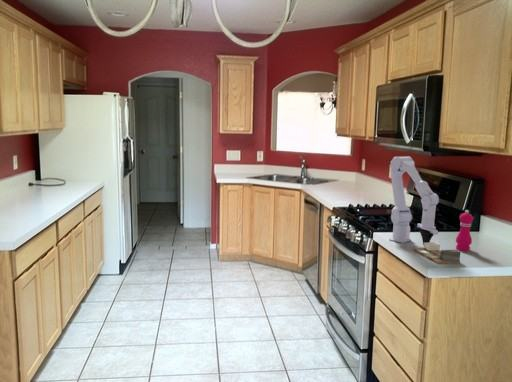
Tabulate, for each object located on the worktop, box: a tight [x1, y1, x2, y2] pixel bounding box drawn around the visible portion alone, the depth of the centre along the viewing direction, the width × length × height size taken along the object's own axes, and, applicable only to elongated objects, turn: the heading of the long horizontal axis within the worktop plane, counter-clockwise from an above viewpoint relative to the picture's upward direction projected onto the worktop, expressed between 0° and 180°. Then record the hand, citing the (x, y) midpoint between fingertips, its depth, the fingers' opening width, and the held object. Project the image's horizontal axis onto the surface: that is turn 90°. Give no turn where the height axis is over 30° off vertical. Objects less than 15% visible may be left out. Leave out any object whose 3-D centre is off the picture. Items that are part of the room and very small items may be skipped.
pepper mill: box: [455, 209, 474, 252], centre depth 220 cm, size 7×7×20 cm
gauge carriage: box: [419, 241, 441, 251], centre depth 215 cm, size 4×10×3 cm, turn 102°
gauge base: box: [411, 246, 461, 264], centre depth 209 cm, size 21×12×5 cm, turn 12°
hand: (425, 245), depth 220 cm, fingers closed
